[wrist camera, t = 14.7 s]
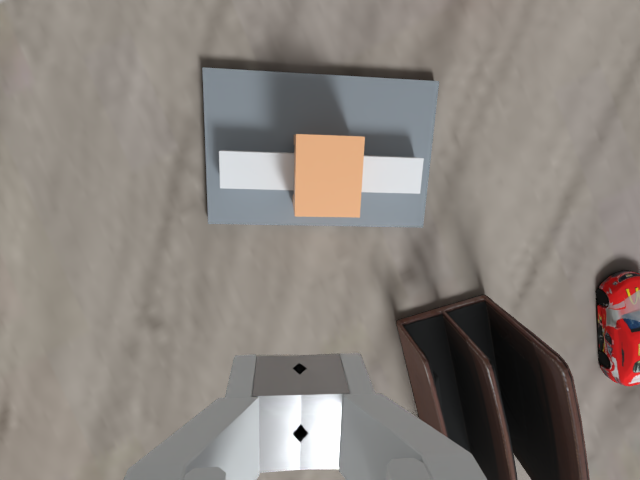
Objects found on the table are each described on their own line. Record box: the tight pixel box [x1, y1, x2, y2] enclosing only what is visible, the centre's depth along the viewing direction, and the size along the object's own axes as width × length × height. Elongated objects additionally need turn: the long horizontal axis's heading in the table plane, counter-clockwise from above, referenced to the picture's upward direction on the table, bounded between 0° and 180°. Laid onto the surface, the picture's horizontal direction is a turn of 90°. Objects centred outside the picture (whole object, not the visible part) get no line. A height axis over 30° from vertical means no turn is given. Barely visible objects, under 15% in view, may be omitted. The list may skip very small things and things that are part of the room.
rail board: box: [202, 67, 439, 227], centre depth 33 cm, size 20×13×3 cm, turn 88°
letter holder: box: [396, 295, 590, 480], centre depth 36 cm, size 10×20×14 cm, turn 15°
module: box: [293, 134, 365, 218], centre depth 31 cm, size 5×6×6 cm
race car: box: [596, 271, 640, 386], centre depth 41 cm, size 13×5×4 cm, turn 12°
